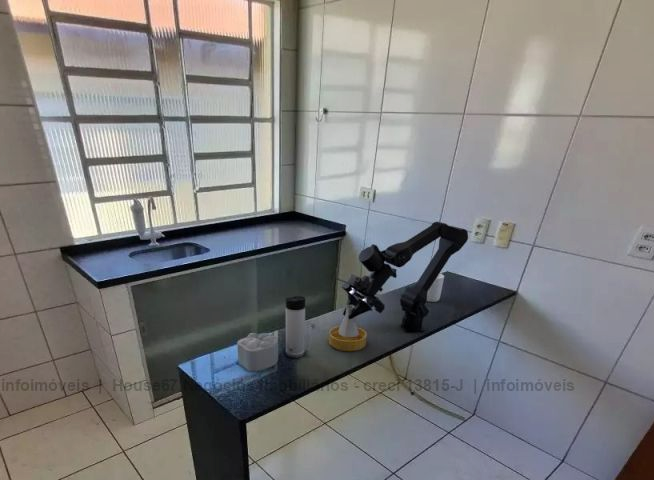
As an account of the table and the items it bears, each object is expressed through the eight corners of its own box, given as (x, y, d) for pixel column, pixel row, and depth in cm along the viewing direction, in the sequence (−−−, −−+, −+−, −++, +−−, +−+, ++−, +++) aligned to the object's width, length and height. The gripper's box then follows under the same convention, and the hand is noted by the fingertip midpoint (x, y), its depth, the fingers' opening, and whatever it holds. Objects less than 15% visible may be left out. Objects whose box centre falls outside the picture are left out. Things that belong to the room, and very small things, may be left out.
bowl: (360, 334, 150) (361, 324, 147) (369, 351, 139) (371, 340, 136) (325, 336, 149) (326, 326, 146) (332, 352, 138) (332, 342, 135)
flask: (362, 336, 140) (365, 308, 134) (343, 339, 138) (345, 311, 132) (353, 327, 145) (355, 301, 140) (334, 330, 144) (336, 304, 138)
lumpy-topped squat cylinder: (234, 360, 133) (232, 336, 128) (267, 349, 140) (266, 326, 135) (252, 373, 126) (250, 348, 121) (285, 361, 133) (285, 337, 128)
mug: (447, 297, 182) (452, 273, 176) (432, 304, 175) (437, 279, 170) (430, 292, 188) (434, 269, 182) (415, 298, 181) (419, 275, 175)
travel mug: (291, 359, 133) (291, 302, 123) (282, 351, 138) (282, 295, 128) (308, 355, 136) (309, 298, 125) (298, 347, 141) (299, 292, 130)
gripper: (348, 258, 138) (318, 294, 140) (381, 273, 123) (347, 313, 125) (365, 277, 145) (337, 312, 147) (398, 293, 130) (366, 331, 132)
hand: (346, 316), depth 138 cm, fingers closed on flask, 3 cm apart
